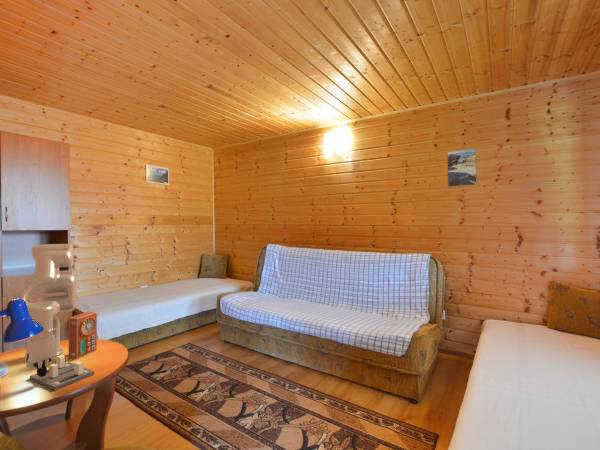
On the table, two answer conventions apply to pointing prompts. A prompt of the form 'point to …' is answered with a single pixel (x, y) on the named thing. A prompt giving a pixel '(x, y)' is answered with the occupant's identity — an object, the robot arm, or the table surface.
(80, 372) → the block
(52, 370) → the block
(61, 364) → the breaker left
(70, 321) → the control panel
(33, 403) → the table surface
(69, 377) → the breaker panel
